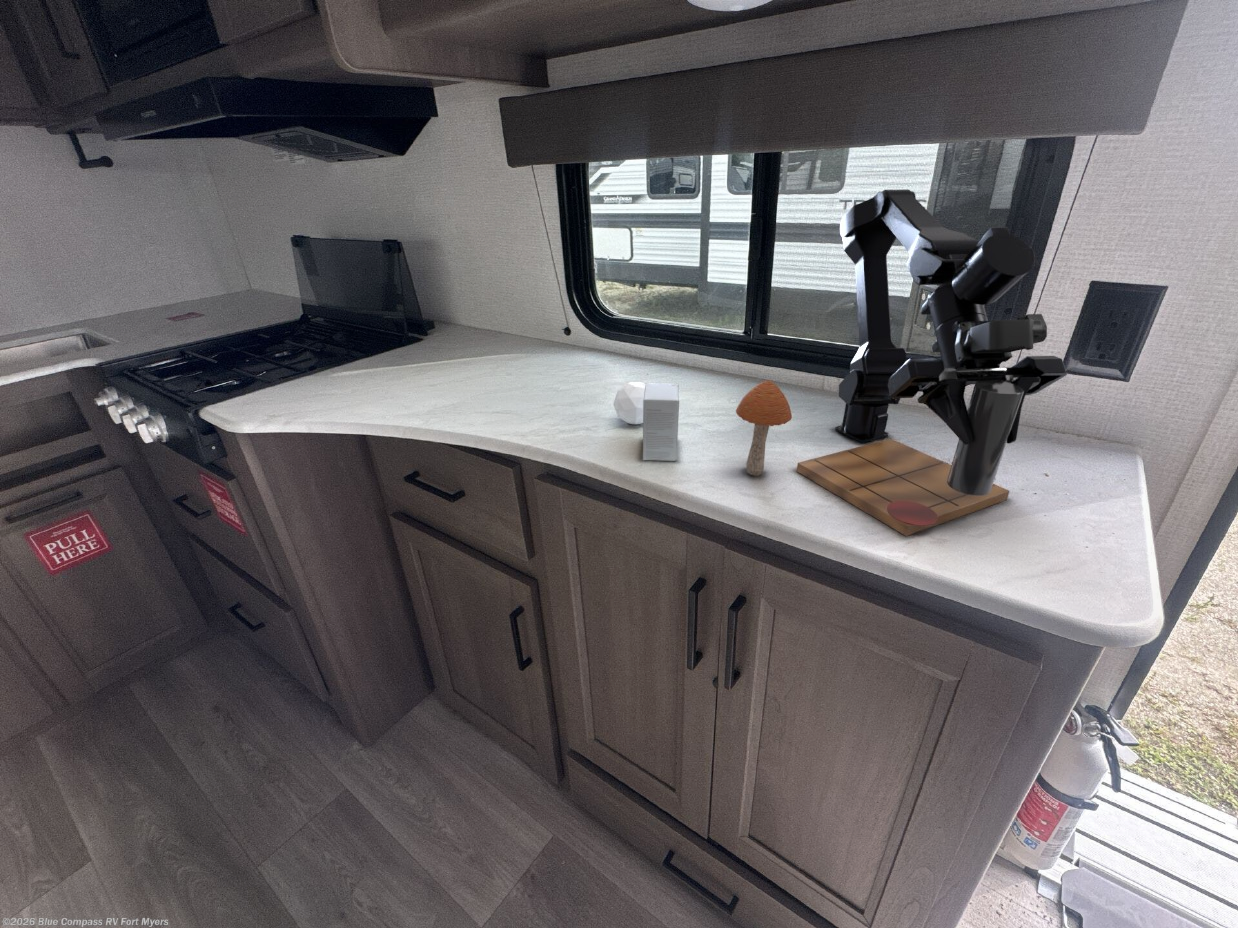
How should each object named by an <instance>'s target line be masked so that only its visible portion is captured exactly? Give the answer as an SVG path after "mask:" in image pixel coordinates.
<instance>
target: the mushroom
mask: <svg viewBox="0 0 1238 928" xmlns="http://www.w3.org/2000/svg"><path fill="white" fill-rule="evenodd" d="M735 413H736V415H737V416H738V417H739V418H741V419H742V420H743V421H746V422H748V423H749V424H754V426H753V434H752V441H751V444H750V448H749V451H748V455H747V458H746V459H747V460H746V463H745V469H746V470H745V471H746V473H747V474H748V475H750V476H753V477H758V476H761V475H762V473H763V471H764V468H765V458H766V457H765V456H766V445H767V443H766V442H767V438H768V435H769V434H768V433H769V428H770V427H774V426H782V425H785V424H787V423H789V422H791V420H792V419H793V415H792V411H791V407H790V404H789V402H788V399H787V397H786V396H785V394H784V392H783V391H782V390H781V389H780V387H779V386H778V385H777V384H775V382H772V381H771V380H769V379H768V380H765V381H762V382H760V383H758V384H756V385H755V386H754V387H753V388H751V389H750V390H749V391H748V392H747V393H746V394H744V396H743V398H742V399H741V401H740V402H739V404H738V405H737V407H736V409H735Z"/></svg>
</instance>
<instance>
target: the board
mask: <svg viewBox="0 0 1238 928" xmlns="http://www.w3.org/2000/svg"><path fill="white" fill-rule="evenodd" d="M951 465H952V464H949V463H947V462H945V461H944V460H941V459H938V458H936V457H934V456H932V455H929V454H927V453H925V452H923V451H920V450H918V449H916V448H913V447H911V446H909V445H906V444H904V443H901V442H900V441H897V440H896V439H893V438H888V439H883V440H879V441H875V442H872V443H868V444H864V445H861V446H857V447H853V448H848V449H845V450H841V451H837V452H834V453H829V454H825V455H822V456H818V457H815V458H811V459H807V460H803V461H798V462H797V465H796V472H797V473H798V474H800V475H802V476H804V477H806V478H807V479H808V480H810V481H812V482H813V483H815V484H817V485H819V486H820V487H822V488H823V489H825V490H827V491H829V492H830V493H832V494H834V495H836V496H837V497H839V498H841V499H842V500H844V501H846V502H848V503H849V504H851V505H852V506H854V507H856V508H857V509H859V510H861V511H863V512H864V513H866V514H868V515H869V516H871V517H873V518H874V519H877V520H878V521H879V522H881V523H882V524H884V525H886V526H888V527H890V528H891V529H892V530H894V531H896V532H898V533H900V534H902V535H903V536H905V537H909V536H910V535H913V534H916V533H920V532H922V531H925V530H928V529H931V528H933V527H935V526H938V525H941V524H944V523H947V522H950V521H952V520H955V519H958V518H961V517H963V516H967V515H970V514H971V513H974V512H977V511H980V510H983V509H985V508H986V509H987V508H989V507H991V506H993V505H996V504H997V505H998V504H1000V503H1002V502H1005V501H1007V500H1008V498H1009V494H1010V492H1011V491H1010V490H1009V489H1006V488H1004V487H1002V486H1000V485H997V484H995V483H993V486H992V489H991V492H990V493H989V494H987V495H982V496H975V495H968V494H964V493H961V492H958V491H956V490H954V489H952V488H951V487H950V486H949V485H948V484H947V479H948V475H949V472H950V468H951Z"/></svg>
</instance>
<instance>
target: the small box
mask: <svg viewBox="0 0 1238 928" xmlns="http://www.w3.org/2000/svg"><path fill="white" fill-rule="evenodd" d="M644 385H645V392H644V400H643V423H642V460H643V461H662V462H676V461H677V459H678V458H677V457H678V440H679V439H678V438H679V418H680V384H679V383H662V382H661V383H659V382H658V383H657V382H656V383H654V382H646V383H645V384H644Z"/></svg>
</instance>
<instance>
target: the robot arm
mask: <svg viewBox="0 0 1238 928" xmlns="http://www.w3.org/2000/svg"><path fill="white" fill-rule="evenodd" d="M916 196H917V195H916V193H915V191H912V190H910V189H904V188H903V189H900V188H899V189H883V190H882V191H878V192H877V193H876V194H875V195H874V196H873V197H871V198H869V199H866V200H863V201H862V202H859V203H857V204H855V205H853V206H852V207H851V208H850V209H849V210H847V212H846V213H845V214H844V215H843V216H842V218H841V220H840V224H839V234H840V237H841V238H842V245H843V246H842V247H843V251H844V252H845V254H846V255H847V257H848V258H849V259H850V260H851V261H852V263H853V264H854V269H855V270H854V271H855V287H856V290H855V291H856V304H857V305H856V306H857V323H858V325H857V326H858V340H859V347H858V350H857V351H856V353H855V355H854V357H853V358H852V360H851V362H850V365H849V373H848V374H847V375H846V376H845V377H844V378H843V379H842V381H840V383H839V385H838V397H839V398H840V399H841V400H842V401H843V402H844V403H845V406H844V411H843V417H842V423H841V425H838V426H835V427H834V431H835V432H838V433H840V434H842V435H844V436H846V437H849V438H850V439H853V440H854V441H857V442H859V443H867V442H868V443H869V442H871V441H875V440H879V439H882V438H886V437H889V432H887V431H886V428H887V423H888V419H889V413H888V409H889V406H890V405H899V403H900V400H901V399H913V398H914V397H915V396H916V395H917V394H918V393H919V392H920V387H921V391H922V395H920V396H919V397H918V398H917V402H918V404H923V405H925V406H927V408H929V409H930V410H931V411H932V412H933V413H934V414H935V415H936V416H937V417H938V418H940V420H941V421H942V422H944V424H945V425H947V427H948V428H949V429H950V430H951V431H952V433H954V435H955V436H956V437H957V438H958V440H959V439H960V440H961V441H962V442H963V443H964V444H965V445H968V444H970V443H972V442H973V436H972V428H971V424H970V420H969V416H968V412H967V410H968V407H967V404H966V400H965V391H966V386H967V385H975V383H976V382H978V381H984V380H992V381H1001V382H1007V383H1011V384H1014V385H1017V386H1019V387H1021V388H1023V390H1024V393H1023V396H1022V399H1021V402H1020V405H1019V408H1018V411H1017V414H1016V417H1015V420H1014V423H1013V426H1012V429H1011V432H1010V435H1009V438H1008V441H1007V444H1008V445H1009V444H1012V443H1015V442H1016V441H1017V437H1018V431H1019V425H1020V419H1021V412H1022V409H1023V404H1024V401H1025V397H1026V396H1031V395H1035V394H1037V393H1039V392H1041V391H1042V390H1045V389H1046V388H1047V387H1049V386H1051V385H1052V384H1054V383H1056V382H1058V381H1059V380H1061V379H1063V378H1064V377H1066V376H1068V373H1067V370H1066V366H1065V364H1064V360H1063V358H1061V357H1059V356H1056V355H1026V356H1025V357H1024V358H1022V359H1020V360H1019V361H1018V362H1016V363H1015V364H1013V365H1012V366H1011V367H1010V366H1009V367H1001V366H1000V364H1001V363H1006V362H1008V361H1009V360H1010V359H1012V358H1013V354H1012V353H1013V352H1017V351H1022V350H1026V351H1030V350H1033V349H1034V344H1038V343H1042V342H1044V341H1045V340H1046V339H1047V337H1048V326H1047V323H1046V321H1045V319H1044V316H1043V314H1042V313H1028V314H1025V316H1018V317H1017V318H1016V319H998V320H997V319H996V320H988V316H987V312H986V309H985V306H987V305H991V304H993V303H996V302H997V301H998V300H999V299H1001V297H1002V296H1004V295H1005V294H1006V293H1007V292H1008V291H1009V290H1010V289H1011V288H1013V287H1014V286H1015V284H1017V283H1018V282H1019V281H1021V279H1023V278H1024V277H1025V276H1026V275H1027V274H1028V273H1029V272H1030V271H1032V270H1033V268H1034V266H1035V264H1036V253H1035V251H1034V248H1032V247H1030V245H1028V244H1027V243H1026V242H1025V241H1024V240H1023V239H1021V238H1019V237H1018V236H1015V235H1012V234H1011V231H1010V229H1009V227H1008V226H1005V227H1004V226H1003V227H1002V226H1001V227H1000V226H998V227H996V226H995V227H993V226H992V227H990V228H988V230H986V232H985V233H984V234H983V235H982V237H981V238H980V240H979V241H978V240H977V239H975V238H973V237H972V236H970V235H969V234H966V233H964V232H961V231H958V230H957V231H956V230H952V229H949V228H946V227H944V226H943V225H942V224H941V223H940V222H939V221H938V219H936V218H935V217H934V216H933V214H931V213H930V212H929V211H928V209H927V208H925V206H924V205H922V204H921V203H920V201H918V199H917V198H916ZM896 240H898V241H899V243H901V245H902V246H903V247H904V249H905V250H906V251H907V253H908V255H909V257H908V260H907V262H906V268H907V269H908V271H909V274H910V276H911V278H912V280H913V282H914V283H915V284H916V285H918V286H937V287H936V288H935V289H934V291H933V292H932V293H929V294H928V295H927V298H926V300H925V302H924V303H923V304H922V305H921V308H920V314H921V316H922V315H923V316H925V315H930V317H931V321H932V326H933V330H934V334H935V338H936V340H935V341H934V342H933V343H932V344H931V351H932V353H939V355H940V358H937V357H926V358H923V357H921V358H919V357H918V358H909V359H907V352H906V350H905V349H904V348H903V347H897V346H896V345H895V344H894V342H893V340H892V339H893V338H892V325H891V324H892V323H891V308H890V293H889V273H888V260H887V259H888V258H887V257H888V254H889V252H890V250H891V249H892V247H893V245H894V243H895V241H896Z"/></svg>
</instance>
